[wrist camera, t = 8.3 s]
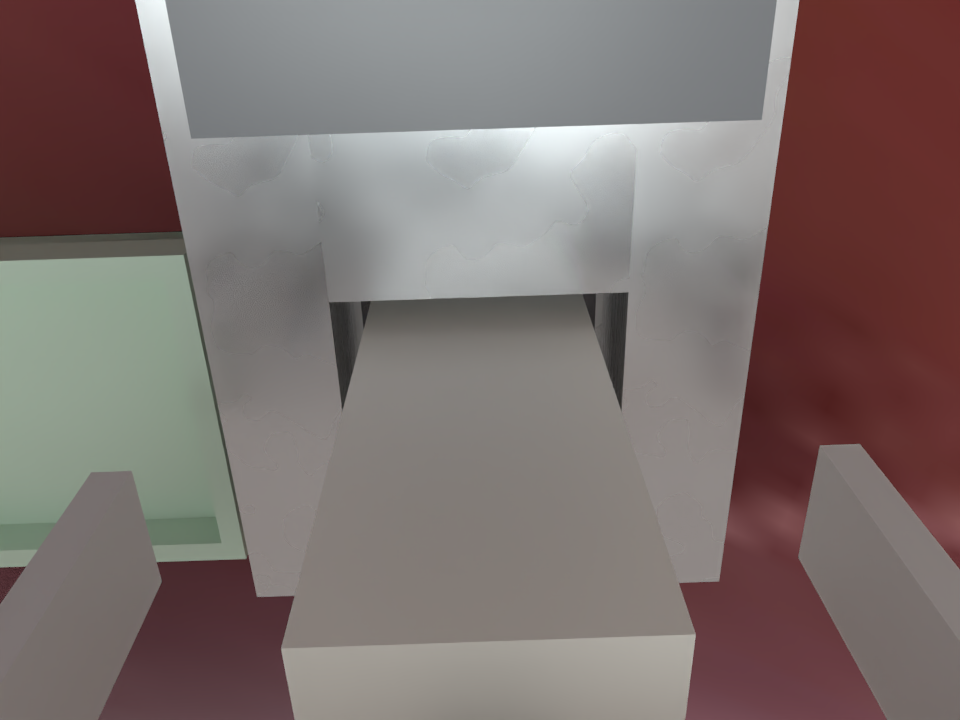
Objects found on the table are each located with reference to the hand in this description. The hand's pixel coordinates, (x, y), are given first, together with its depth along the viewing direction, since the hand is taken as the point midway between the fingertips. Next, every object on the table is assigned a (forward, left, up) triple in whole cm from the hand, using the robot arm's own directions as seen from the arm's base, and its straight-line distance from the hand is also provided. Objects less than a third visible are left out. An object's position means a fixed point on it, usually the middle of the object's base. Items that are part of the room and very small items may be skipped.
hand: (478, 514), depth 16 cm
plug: (0, 0, -6) cm, 6 cm away
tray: (-11, -1, -7) cm, 14 cm away
